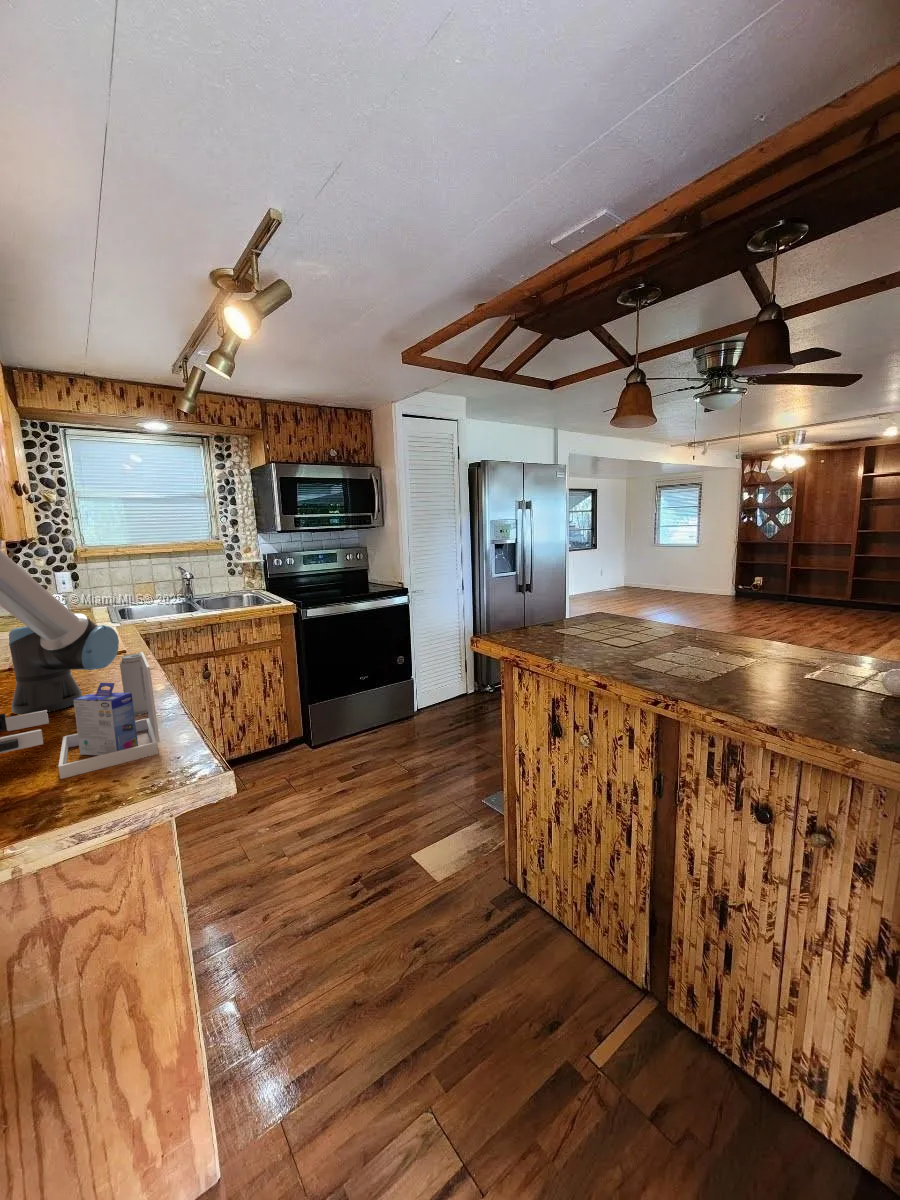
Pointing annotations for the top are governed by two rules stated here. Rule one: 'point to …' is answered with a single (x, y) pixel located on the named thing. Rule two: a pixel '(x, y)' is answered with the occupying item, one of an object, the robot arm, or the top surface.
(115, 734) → the ink cartridge box
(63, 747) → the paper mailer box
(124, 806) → the top surface
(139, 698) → the energy drink can
